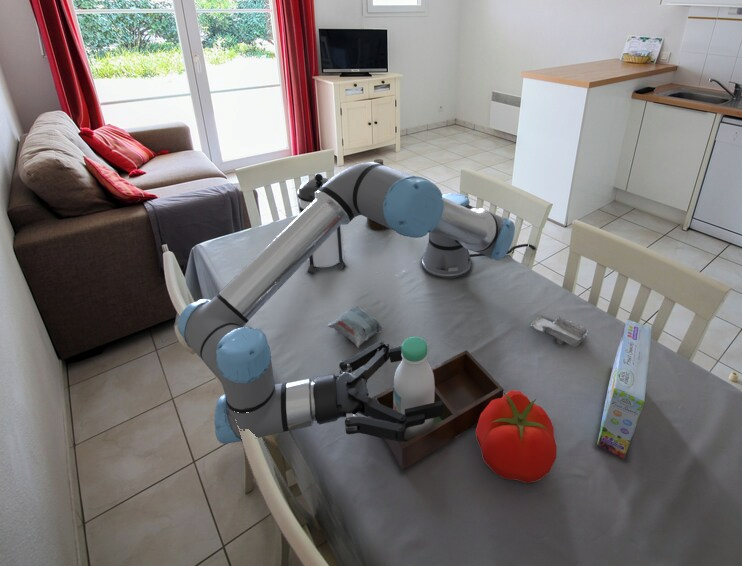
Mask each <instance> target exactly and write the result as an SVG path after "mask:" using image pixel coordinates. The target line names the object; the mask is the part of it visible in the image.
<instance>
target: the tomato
mask: <svg viewBox="0 0 742 566" xmlns="http://www.w3.org/2000/svg"><path fill="white" fill-rule="evenodd" d="M536 401H537V398H535V399H533V400H532V401H530V398H529V397H528V396H527V395H525V394H524V393H523V392H522V391H521V390H509V391H508V392H506V393H505V392H503V397H502V398H501V399H500V398H498V399H494V400H492V401H491V402H490V403H489V405H488V406H487V407H486V408H485V409H484V411H483V412H482V413H481V415H480V418H479V420H478V424H476V429H475V438H476V440H477V443H478V445H479V448H480V450H481V455H482V460H483V462H484V463H485V465H487V466H488V467H489V469H491V471H492V472H493V473H495V474H496V475H498V476H499V477H501V478H502V479H504V480H516V481H520V482H523V483H525V484H530V483H534V482H537V481H540V480H542V479H543V478H544V477H546V476H547V475H548V474H549V473H550V471H551V470H552V468H553V466H554V464H555V461H556V459H557V455H558V453H557V449H558V447H557V442H556V438H555V427H554V425H553V422H552V420H551V418H550V417H549V415H548V413H547V412H546V410H545V409H544V408H543V407H542V406H540V405H538V404H537V403H535V402H536Z"/></svg>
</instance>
